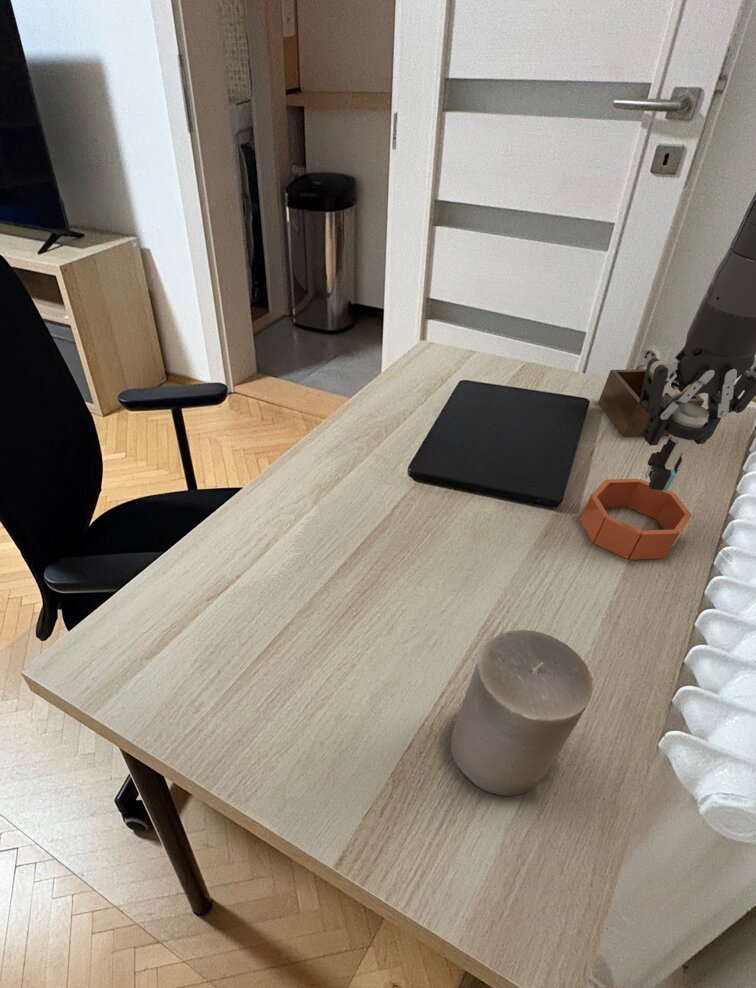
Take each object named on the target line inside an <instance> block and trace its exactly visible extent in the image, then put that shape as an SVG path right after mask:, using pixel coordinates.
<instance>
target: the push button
mask: <svg viewBox="0 0 756 988" xmlns="http://www.w3.org/2000/svg"><path fill="white" fill-rule="evenodd" d="M706 409H707V408H705V407H703V406H699V405H696V404H691V403H686V404H685V405H680V406H679V407H678V409H677V410H676V411H675V412H674V413H673V414H672V415H671V416H670V417H669V418H668V419H669V422H668V424H667V426H666V428H665V430H666V432H667V433H668V434H669V435H668V437H667V439H666V441H665V444H663V445H662V446H661V449H660V450H659V451H656V452H651V454H650V456H649V458H648V461H647V466H648V467H647V469H646V471H645V473H644V479H645V480H648V479H649V489H655V490H663V491H668V490H669V489H670V486H671V485H672V484H673V481H674V479H675V477H676V475H677V474H678V471H679V470H678V469H679V467H680V465H681V463H682V461H683V457H682V456H683V452H684V450H685V448H686V446H687V444H688V443H689V442H691V441H694V440H698V439H700V438H702V437H703V436H705V435H706V433H707V431H709V430H710V429H711V428H712V426H713V421H712V419H711V418H710V417H709V412H708V411H707V410H706Z"/></svg>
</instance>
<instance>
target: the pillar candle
mask: <svg viewBox="0 0 756 988" xmlns="http://www.w3.org/2000/svg"><path fill="white" fill-rule="evenodd" d="M593 683H594V682H593V677H592V674H591V672H590V670H589V668H588V665H587V663H586V662H585V660H583V659H582V657H581V656H580V655H579V654H578V653H577V652H576V651H575V650H574V649H573V648H571V647H570V646H569V645H568V644H566V643H565V642H563V641H561V640H559V639H558V638H556V637H554V636H552V635H550V634H547V633H544V632H540V631H536V630H532V629H531V630H528V629H515V630H507V631H505V632H502V633H499V634H498V635H496V636H494V637H492V638H491V639H489V640H488V641H487V642H486V643H485V645H483V647H482V648H480V650H479V651H478V656H477V658H476V664H475V667H474V670H473V673H472V676H471V678H470V681H469V683H468V687H467V690H466V692H465V695H464V698H463V700H462V703H461V707H460V710H459V711H458V715H457V718H456V720H455V724H454V726H453V729H452V732H451V736H450V751H451V756H452V759H453V761H454V763H455V765H456V766H457V767H458V768H459V770H460V771H461V773H462V774H463V775H464V776H465V777H466V778H467V779H468V780H469V781H470V782H471V783H472V784H474V785H475V787H478V788H480V789H481V790H484V791H485V792H488V793H491V794H495V795H499V796H506V797H511V796H519V795H522V794H525V793H527V792H529V791H533V790H534V789H536V788H537V787H538V786H539V785H540V784H542V782H543V780H544V779H545V777H546V775H547V774H548V773H549V770H550V769H551V767H552V766H553V764H554V763H555V761H556V759H557V757H558V756H559V754H560V753H561V751H562V750H563V748H564V746H565V744H566V742H567V741H568V739H569V738H570V736H571V734H572V732H573V730H574V729H575V727H576V726H577V724H578V722H579V720H580V719H581V718H582V715H583V713H584V712H585V710H586V708H587V707H588V705H589V703H590V701H591V700H592V699H591V698H592V694H593V691H594V690H593V689H594V684H593Z"/></svg>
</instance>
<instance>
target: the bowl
mask: <svg viewBox="0 0 756 988" xmlns="http://www.w3.org/2000/svg"><path fill="white" fill-rule="evenodd" d="M649 483H650V481H648V480H644V479H641V478H611V479H609V478H608V479H604V480H603V481H602V482H601V483H600V485H598V487H596V489H595V490H594V491H593V492H592V493H591V494H590V496H589V499H588V501H587V503H586V505H585V508H584V510H583V512H582V515H581V517H580V523H581V525H582V526H583V528H584V530H585V532H586V533H587V535H588V537H589V539H590V540H591V542H592V543H594V545H595V546H598V547H600V548H602V549H604V550H606V551H608V552H611V553H612V554H615V555H617V556H619V557H621V558H624V559H626V560H630V561H633V560H635V561H637V560H662V559H665V558H666V557H667V556H668V554H669V553H670V551H671V550H672V549H673V548H674V546H675V545H676V543H677V542H678V541H679V538H680V537H681V535H682V533H683V532H684V530H685V528H686V527H687V525H688V524H689V521H690V520H691V518H692V516H693V515H692V513H691V512H690V511H689V509H688V508H687V506H686V505H685V504H684V502H683V501H681V499H680V498H679V496H678V495H677V494H676V493H674V491H672V490H669V489H668V491H663V490H655V489H649ZM605 508H629V509H631V510H633V511H636V512H638V513H640V514H642V515H645V516H648V517H650V518H652V519H655V520H657V522H658V524H659V525H660V526H661V528H662V529H649V530H642V529H639V528H637V527H635V526H632V525H630V524H628V523H625V522H623V521H621V520H619V519H617V518H614V517H612V516H611V515H609V513H608V511H607V510H606V509H605Z"/></svg>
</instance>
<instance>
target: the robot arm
mask: <svg viewBox="0 0 756 988" xmlns="http://www.w3.org/2000/svg"><path fill="white" fill-rule="evenodd" d="M645 369H646V374H645V378H644V383H643V387H642V392H641V396H640V401H639V403H640V405H641V406H642V407H643V408H644V409H645V411H646V412H647V413H648V414H649V415H650V417H649V419H648V421H647V423H646V426H645V428H644V430H643V436H642V437H643V438H644V440H645V442H646V443H647V444H648V445H649V446H657V445H659V443H660V441H661V439H662V437H663V436H664V435H663V432H664V430H665V428H666V426H667V424H668V422H669V419H668V418H669V417H670V416H671V415H672V414H673V413H674V412H675V411H676V410H677V409H678V407H679V406H680V405H685V404H686V403H687V402H688V401H689V400H690V399H691V398H692V397H693V396H694V395H701V394H702V395H703V394H707V403H706V406H707V408H705V409H706V410H707V411H708V412H709V417H710V418H711V419H712V421H713V426H712V428H711V429H710V430H709V431H707V433H706V435H705V436H703V437H702V438H700V439H698V440H693V442H694V443H695V444H696V445H704V444H705V443H706V442H707V440H710V438H711V437H712V436H713V434H714V433H715V431H716V429H717V428H718V425H719V424H720V422H721V420H722V419H723V418H725V417H726V416H728V414H730V413H735V414H739V413H740V414H741V413H742V412H744V411H745V410H746V408H748V406H749V405H750V403H751V402H752V401H753V400H754V398H755V397H756V191H755V192H754V194H753V196H752V197H751V198H750V201H749V203H748V205H747V207H746V210H745V212H744V214H743V216H742V218H741V221H740V223H739V225H738V227H737V229H736V231H735V234H734V236H733V238H732V240H731V242H730V245H729V246H728V248H727V250H726V252H725V254H724V256H723V257H722V259H721V261H720V262H719V264H718V265H717V267H716V269H715V271H714V273H713V275H712V278H711V280H710V282H709V284H708V286H707V288H706V291H705V293H704V295H703V297H702V299H701V301H700V303H699V306H698V308H697V311H696V313H695V315H694V316H693V319H692V321H691V324H690V326H689V328H688V330H687V333H686V340H685V344H684V346H683V347H682V349H681V350H680V351H679V352H678V353H677V354H676V356H675V357H674V358H670V359H666V360H665V359H664V360H660V359H659V358H658V357H652V358H651V359H650V360H648V362H647V365H646V368H645ZM674 371H675V372H676V373H675V375H674V376H673V377H672V378H671V379H670V376H671V374H672V372H674ZM736 380H737V381H736ZM666 381H668V383H667V384H666V385H665V383H666ZM679 385H680V386H681V387H682V388H683V389H684V390H683V391H682V392H680V391H679V390H678V388H679ZM670 399H671V401H670V402H669V403H668V401H669V400H670ZM667 403H668V404H667ZM666 404H667V405H666ZM665 405H666V406H665Z"/></svg>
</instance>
